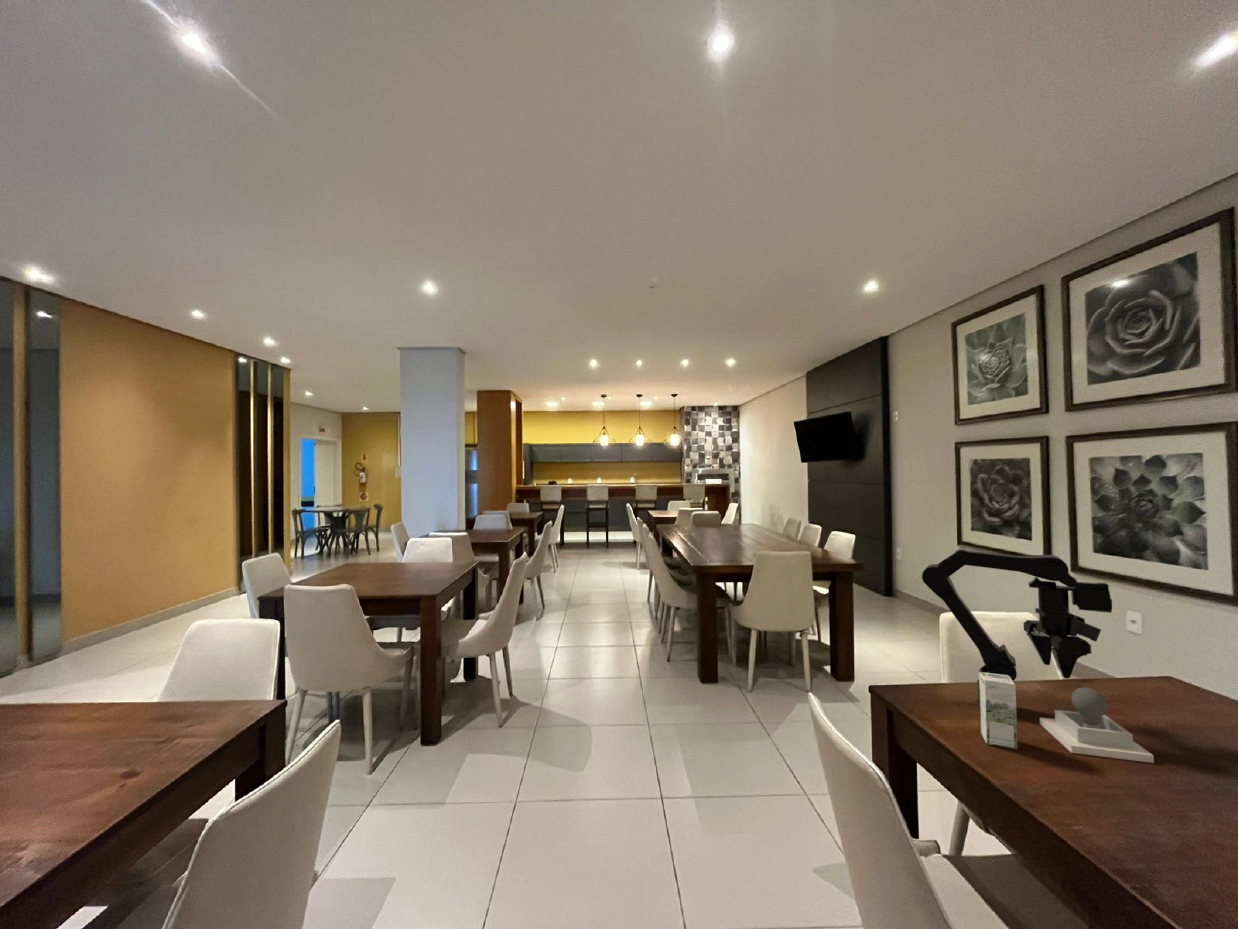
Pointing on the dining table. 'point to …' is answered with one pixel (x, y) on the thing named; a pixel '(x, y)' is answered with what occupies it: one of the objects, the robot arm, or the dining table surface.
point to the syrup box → (998, 710)
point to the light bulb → (1089, 706)
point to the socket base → (1095, 737)
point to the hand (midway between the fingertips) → (1056, 671)
